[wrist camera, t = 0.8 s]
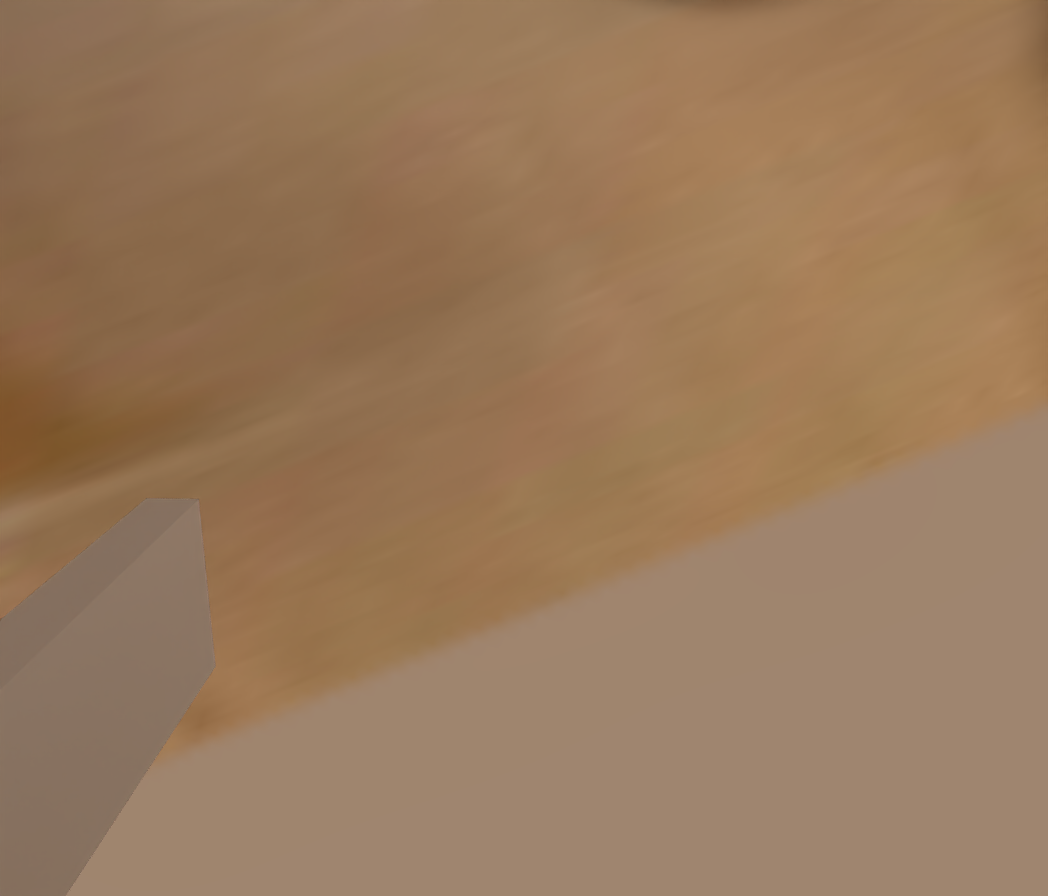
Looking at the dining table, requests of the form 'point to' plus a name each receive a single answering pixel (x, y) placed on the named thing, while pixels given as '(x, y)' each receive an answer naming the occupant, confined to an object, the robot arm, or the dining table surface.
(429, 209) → the dining table surface
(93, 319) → the dining table surface
